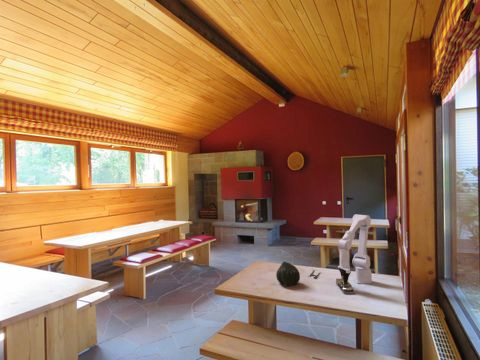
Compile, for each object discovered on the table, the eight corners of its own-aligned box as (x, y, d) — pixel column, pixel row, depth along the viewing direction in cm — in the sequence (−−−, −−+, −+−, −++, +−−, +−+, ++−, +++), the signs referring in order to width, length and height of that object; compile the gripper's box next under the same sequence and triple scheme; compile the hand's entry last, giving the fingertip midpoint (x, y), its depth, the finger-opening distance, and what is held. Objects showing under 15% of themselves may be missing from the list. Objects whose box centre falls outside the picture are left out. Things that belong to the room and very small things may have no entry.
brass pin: (346, 283, 185) (346, 274, 185) (347, 285, 183) (346, 275, 183) (342, 283, 186) (342, 274, 186) (343, 285, 183) (342, 275, 183)
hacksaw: (316, 279, 203) (316, 277, 203) (301, 277, 208) (301, 275, 208) (323, 270, 224) (323, 268, 224) (310, 268, 229) (310, 266, 229)
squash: (305, 279, 187) (297, 257, 196) (283, 282, 183) (276, 260, 192) (298, 288, 197) (290, 267, 206) (277, 292, 193) (270, 270, 202)
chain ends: (345, 284, 193) (345, 278, 193) (354, 294, 176) (354, 288, 176) (335, 284, 193) (335, 278, 193) (343, 294, 176) (343, 288, 176)
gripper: (334, 256, 192) (334, 277, 192) (341, 262, 177) (341, 285, 177) (345, 256, 191) (346, 277, 191) (353, 262, 177) (353, 285, 177)
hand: (344, 281), depth 184 cm, fingers closed on brass pin, 2 cm apart
